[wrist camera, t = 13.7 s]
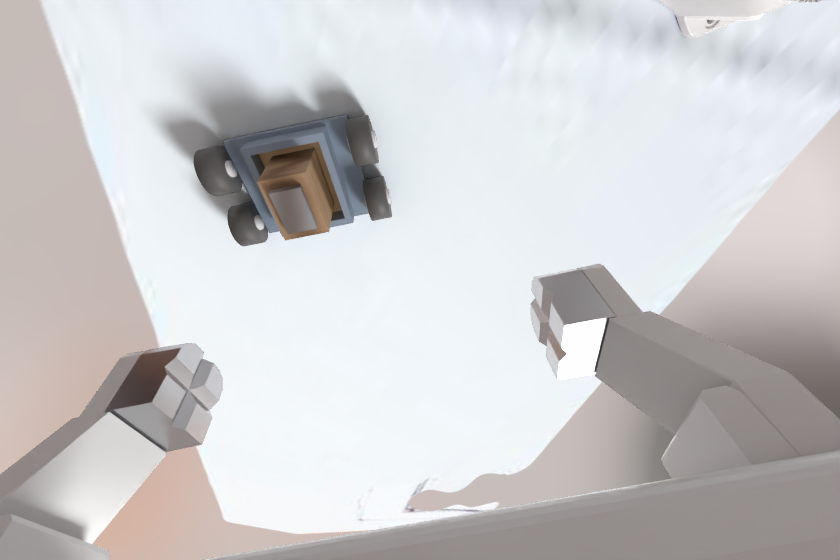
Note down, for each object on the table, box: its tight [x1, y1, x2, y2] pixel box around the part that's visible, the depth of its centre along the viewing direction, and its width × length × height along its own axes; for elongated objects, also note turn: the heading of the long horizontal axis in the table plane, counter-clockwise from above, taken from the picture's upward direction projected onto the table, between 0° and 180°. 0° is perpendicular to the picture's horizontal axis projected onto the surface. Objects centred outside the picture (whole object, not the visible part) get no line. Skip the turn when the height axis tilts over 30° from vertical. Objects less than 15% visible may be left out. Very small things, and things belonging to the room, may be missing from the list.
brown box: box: [257, 148, 334, 240], centre depth 40 cm, size 5×7×8 cm
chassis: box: [194, 114, 392, 246], centre depth 42 cm, size 19×12×5 cm, turn 100°
